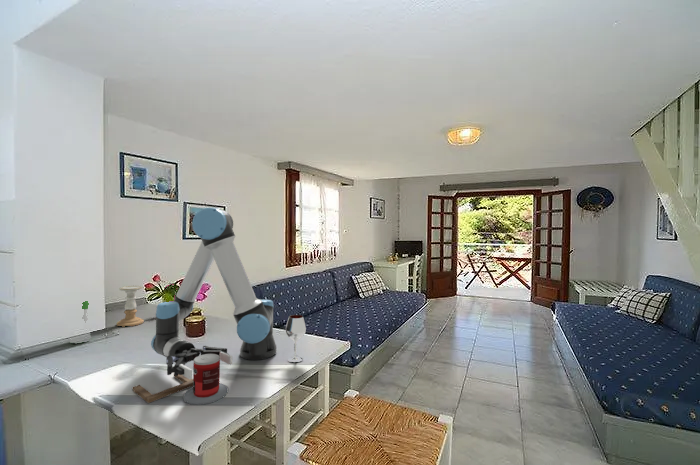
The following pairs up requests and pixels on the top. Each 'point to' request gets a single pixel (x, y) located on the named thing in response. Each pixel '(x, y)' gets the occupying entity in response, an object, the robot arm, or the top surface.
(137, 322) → the candle holder
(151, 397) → the walnut cradle
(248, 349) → the robot arm
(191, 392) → the slate mat
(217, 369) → the canned food
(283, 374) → the top surface
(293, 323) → the wineglass
